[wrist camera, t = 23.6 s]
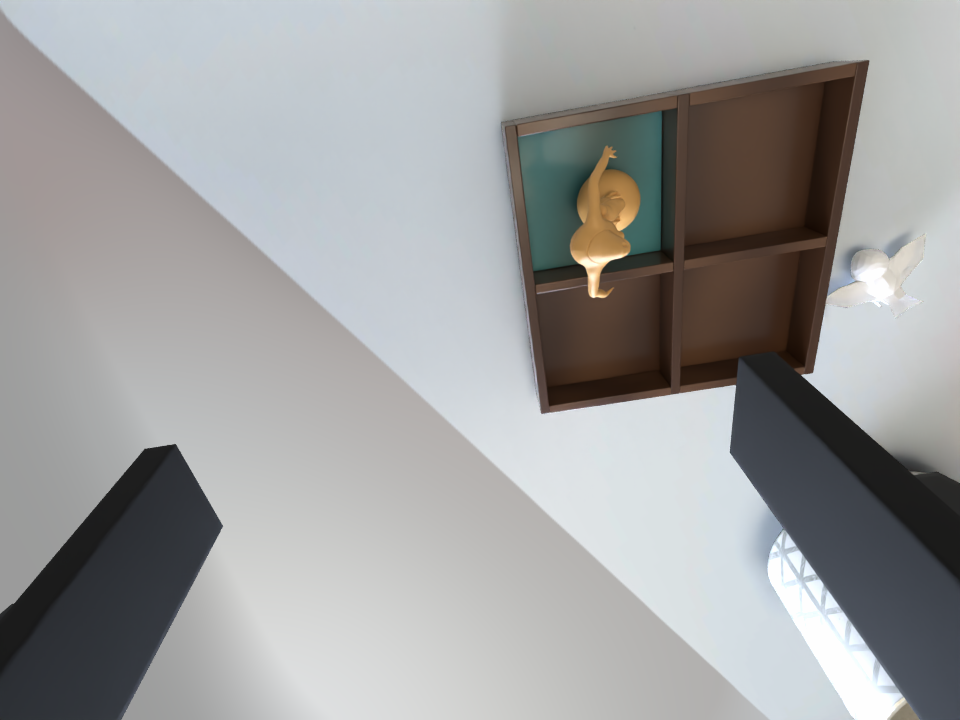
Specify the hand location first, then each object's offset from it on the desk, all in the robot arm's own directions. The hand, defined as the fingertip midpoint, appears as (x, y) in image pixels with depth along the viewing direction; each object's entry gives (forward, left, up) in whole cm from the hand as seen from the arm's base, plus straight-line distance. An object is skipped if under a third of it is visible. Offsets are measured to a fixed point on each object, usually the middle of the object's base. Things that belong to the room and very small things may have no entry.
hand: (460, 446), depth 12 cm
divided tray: (+14, -6, -27) cm, 31 cm away
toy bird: (+29, -10, -27) cm, 41 cm away
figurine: (+9, -1, -26) cm, 28 cm away
